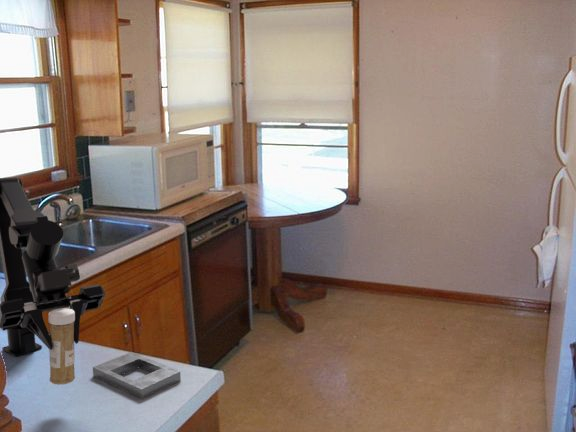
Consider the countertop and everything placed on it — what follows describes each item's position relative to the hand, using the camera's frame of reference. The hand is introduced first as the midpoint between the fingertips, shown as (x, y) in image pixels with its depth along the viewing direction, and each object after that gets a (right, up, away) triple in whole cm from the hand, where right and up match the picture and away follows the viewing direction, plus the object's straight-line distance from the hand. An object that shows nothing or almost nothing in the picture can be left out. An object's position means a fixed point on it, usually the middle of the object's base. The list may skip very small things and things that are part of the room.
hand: (64, 345), depth 111 cm
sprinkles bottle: (-1, -7, +2) cm, 8 cm away
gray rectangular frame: (+9, -10, +16) cm, 21 cm away
